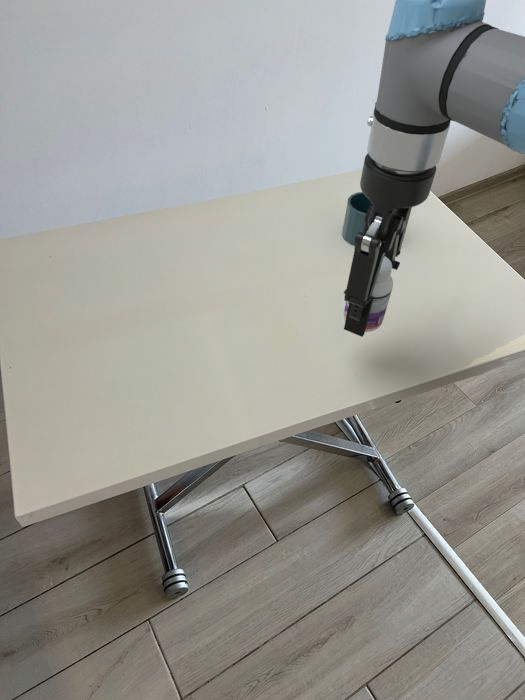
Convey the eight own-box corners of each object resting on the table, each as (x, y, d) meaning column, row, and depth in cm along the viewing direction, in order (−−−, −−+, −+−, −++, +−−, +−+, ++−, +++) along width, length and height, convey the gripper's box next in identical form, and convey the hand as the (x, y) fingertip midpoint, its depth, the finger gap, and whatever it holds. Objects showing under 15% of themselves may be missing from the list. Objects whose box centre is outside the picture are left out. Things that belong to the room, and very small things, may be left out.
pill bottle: (336, 310, 74) (347, 253, 67) (371, 302, 75) (385, 246, 68) (353, 337, 70) (366, 280, 63) (389, 329, 72) (406, 272, 64)
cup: (387, 232, 102) (396, 200, 96) (372, 252, 97) (380, 220, 92) (351, 219, 104) (357, 187, 99) (335, 238, 100) (340, 206, 94)
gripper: (398, 117, 62) (364, 272, 79) (331, 186, 51) (308, 349, 68) (461, 133, 60) (411, 290, 77) (405, 210, 49) (361, 372, 66)
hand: (363, 317), depth 72 cm, fingers closed on pill bottle, 5 cm apart
